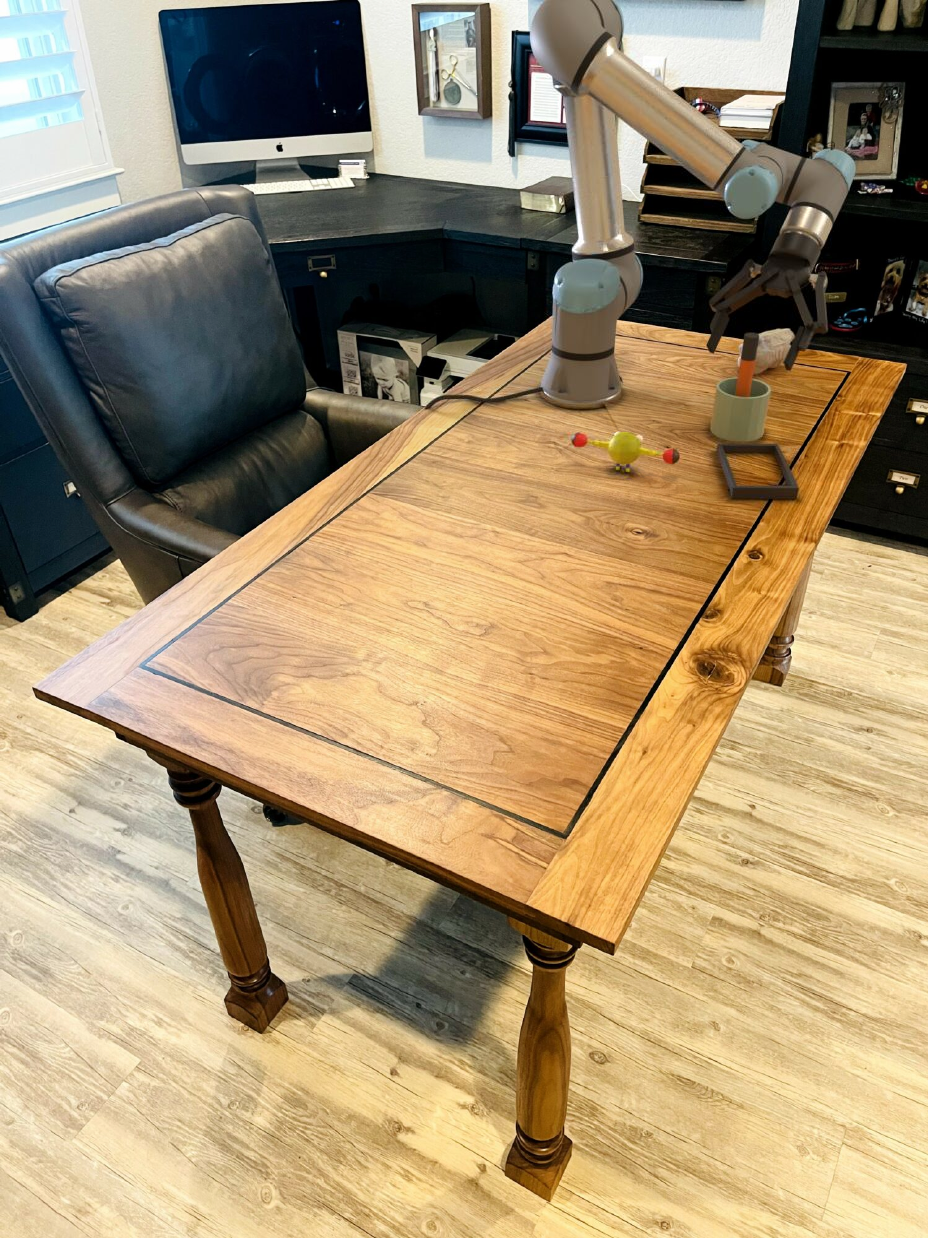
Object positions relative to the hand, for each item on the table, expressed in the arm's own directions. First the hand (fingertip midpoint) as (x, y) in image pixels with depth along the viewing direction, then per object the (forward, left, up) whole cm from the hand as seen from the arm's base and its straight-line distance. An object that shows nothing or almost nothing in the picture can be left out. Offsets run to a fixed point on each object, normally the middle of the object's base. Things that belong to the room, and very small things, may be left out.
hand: (747, 357), depth 159 cm
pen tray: (-2, -15, -14) cm, 21 cm away
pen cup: (0, +1, -14) cm, 14 cm away
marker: (0, +1, -13) cm, 13 cm away
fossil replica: (+15, +28, -14) cm, 35 cm away
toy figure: (-23, -10, -14) cm, 28 cm away
